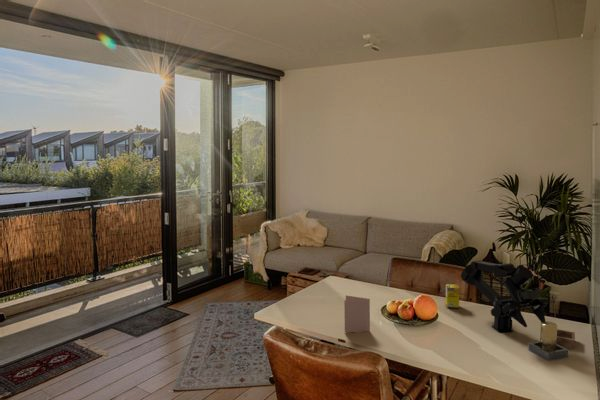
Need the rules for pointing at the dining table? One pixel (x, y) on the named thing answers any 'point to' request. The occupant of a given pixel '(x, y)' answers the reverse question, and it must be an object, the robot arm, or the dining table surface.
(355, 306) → the greeting card
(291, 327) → the dining table surface
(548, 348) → the tan cylinder
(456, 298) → the supplement box
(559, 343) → the walnut socket
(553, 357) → the tray
